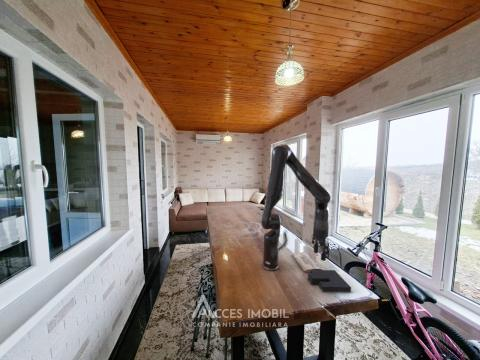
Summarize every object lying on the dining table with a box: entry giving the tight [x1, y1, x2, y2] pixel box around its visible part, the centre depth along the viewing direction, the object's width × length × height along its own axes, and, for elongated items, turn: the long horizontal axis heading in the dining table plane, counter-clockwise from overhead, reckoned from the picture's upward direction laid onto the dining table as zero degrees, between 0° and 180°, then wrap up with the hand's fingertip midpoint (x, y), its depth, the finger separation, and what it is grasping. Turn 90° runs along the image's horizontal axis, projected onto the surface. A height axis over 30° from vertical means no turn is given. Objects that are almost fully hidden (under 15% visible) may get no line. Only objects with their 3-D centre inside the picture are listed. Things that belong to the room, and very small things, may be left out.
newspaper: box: [291, 251, 324, 273], centre depth 125 cm, size 23×12×2 cm, turn 4°
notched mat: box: [310, 269, 352, 293], centre depth 103 cm, size 16×14×2 cm
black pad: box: [307, 272, 329, 286], centre depth 103 cm, size 5×9×4 cm, turn 91°
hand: (319, 256), depth 103 cm, fingers open, 8 cm apart
